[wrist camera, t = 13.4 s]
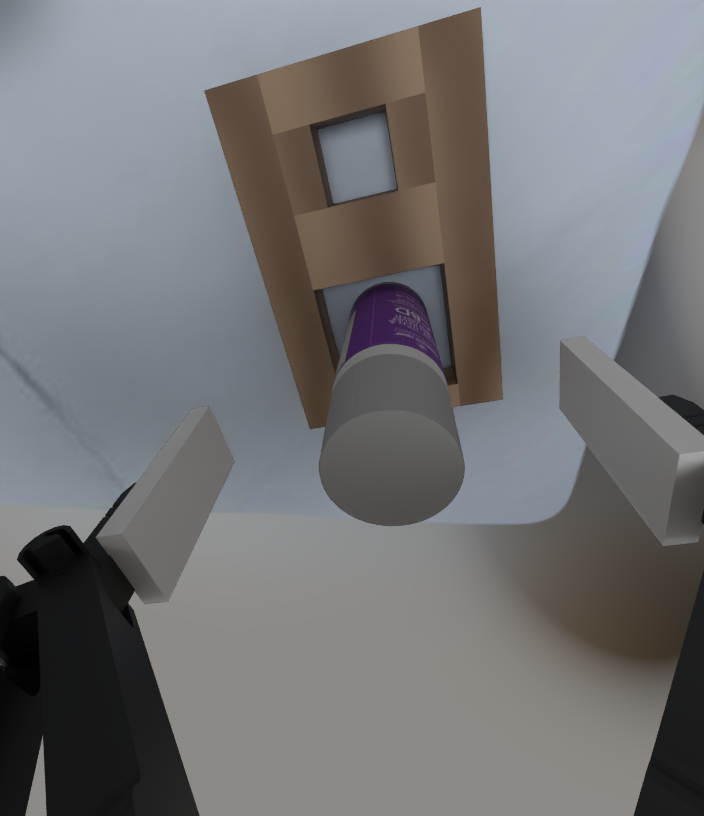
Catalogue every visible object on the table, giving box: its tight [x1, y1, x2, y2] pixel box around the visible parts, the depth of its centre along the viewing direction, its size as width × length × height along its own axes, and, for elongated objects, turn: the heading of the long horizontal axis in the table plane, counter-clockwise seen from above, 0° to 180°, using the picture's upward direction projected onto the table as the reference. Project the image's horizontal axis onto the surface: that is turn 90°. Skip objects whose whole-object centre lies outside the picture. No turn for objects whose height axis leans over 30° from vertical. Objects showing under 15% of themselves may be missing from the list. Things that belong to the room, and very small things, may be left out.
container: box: [319, 282, 465, 526], centre depth 19 cm, size 5×5×15 cm
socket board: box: [205, 7, 503, 429], centre depth 23 cm, size 12×18×2 cm, turn 12°
